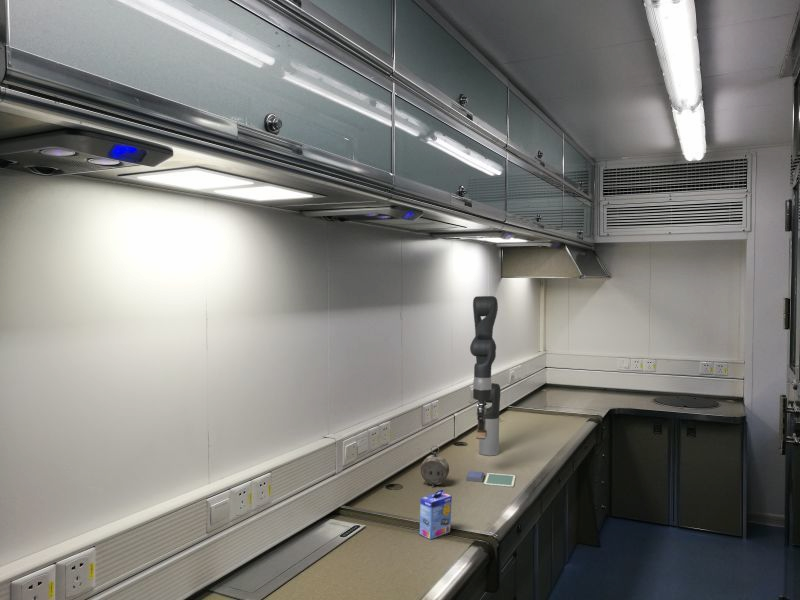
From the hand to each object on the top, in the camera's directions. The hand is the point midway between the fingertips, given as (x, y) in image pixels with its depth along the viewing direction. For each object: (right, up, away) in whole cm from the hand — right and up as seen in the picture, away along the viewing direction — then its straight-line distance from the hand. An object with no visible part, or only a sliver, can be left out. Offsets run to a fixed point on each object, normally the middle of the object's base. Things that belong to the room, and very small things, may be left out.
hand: (481, 428), depth 263 cm
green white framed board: (+7, -20, -5) cm, 22 cm away
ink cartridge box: (-23, -22, -60) cm, 67 cm away
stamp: (0, -4, 0) cm, 4 cm away
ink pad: (-3, -20, -2) cm, 20 cm away
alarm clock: (-20, -20, -13) cm, 31 cm away
